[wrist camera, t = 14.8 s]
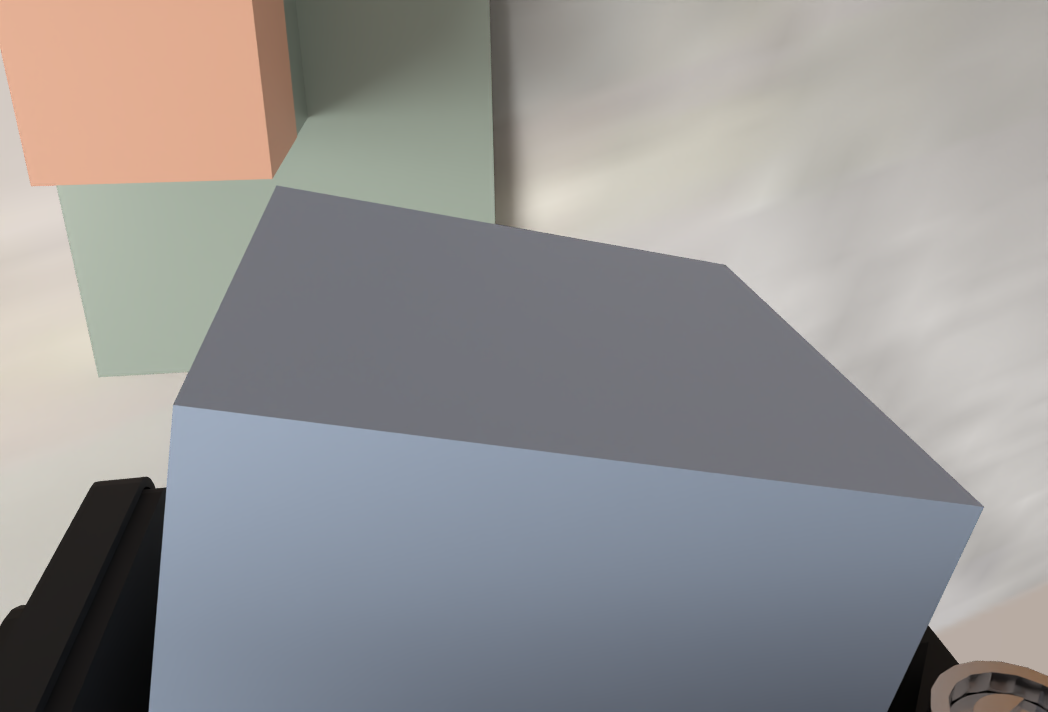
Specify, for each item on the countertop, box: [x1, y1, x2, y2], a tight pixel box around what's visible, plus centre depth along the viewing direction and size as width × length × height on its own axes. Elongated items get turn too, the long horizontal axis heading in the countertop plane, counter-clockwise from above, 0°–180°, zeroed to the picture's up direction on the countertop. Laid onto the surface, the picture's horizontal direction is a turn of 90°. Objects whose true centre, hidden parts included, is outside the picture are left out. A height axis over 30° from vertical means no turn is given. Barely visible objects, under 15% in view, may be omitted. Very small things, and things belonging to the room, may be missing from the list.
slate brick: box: [149, 185, 984, 712], centre depth 9 cm, size 5×8×5 cm, turn 168°
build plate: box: [56, 0, 495, 377], centre depth 26 cm, size 13×16×4 cm
